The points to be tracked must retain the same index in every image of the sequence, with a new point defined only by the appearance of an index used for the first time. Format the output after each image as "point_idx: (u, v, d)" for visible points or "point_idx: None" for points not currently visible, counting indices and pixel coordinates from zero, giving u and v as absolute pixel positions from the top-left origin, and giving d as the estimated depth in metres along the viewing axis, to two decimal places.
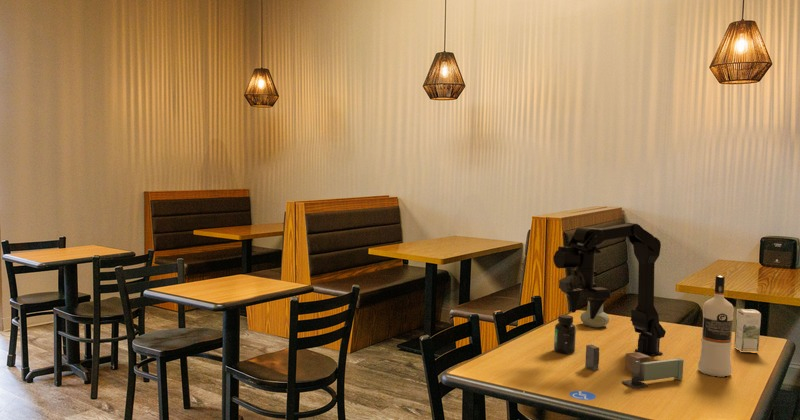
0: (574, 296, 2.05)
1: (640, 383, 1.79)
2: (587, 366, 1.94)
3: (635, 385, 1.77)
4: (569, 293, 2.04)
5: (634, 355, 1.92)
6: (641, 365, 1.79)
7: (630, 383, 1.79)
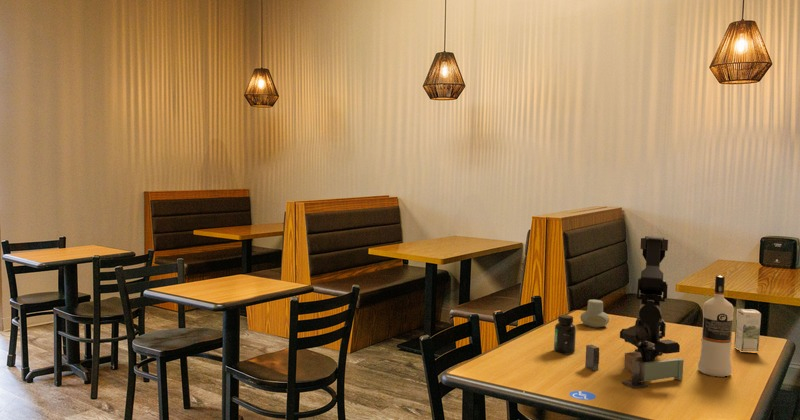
0: None
1: (640, 383, 1.79)
2: (587, 366, 1.94)
3: (635, 385, 1.77)
4: (642, 347, 1.88)
5: (633, 354, 1.92)
6: (641, 365, 1.79)
7: (630, 383, 1.79)
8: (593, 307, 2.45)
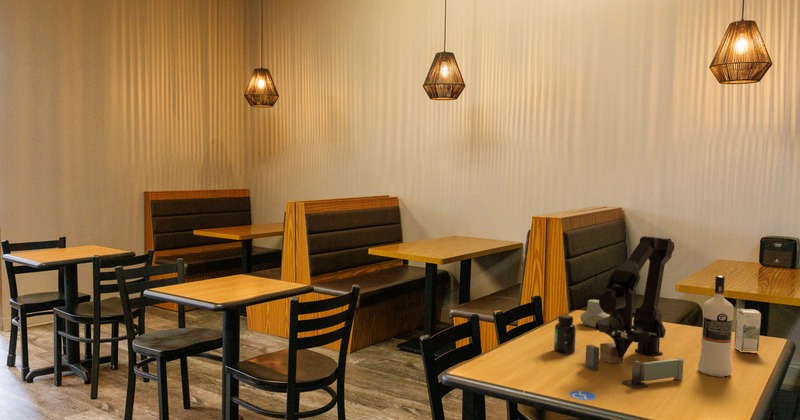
0: None
1: (640, 383, 1.79)
2: (587, 366, 1.94)
3: (635, 385, 1.77)
4: (616, 337, 1.98)
5: (608, 345, 2.02)
6: (641, 365, 1.79)
7: (630, 383, 1.79)
8: (593, 307, 2.45)
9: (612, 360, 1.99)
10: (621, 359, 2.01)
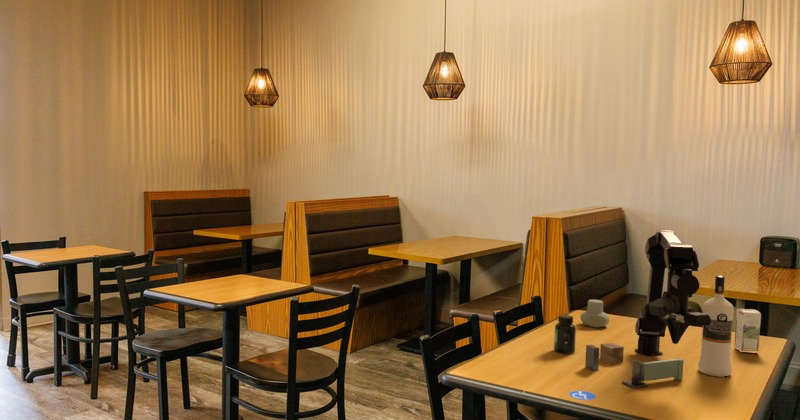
0: None
1: (640, 383, 1.79)
2: (587, 366, 1.94)
3: (635, 385, 1.77)
4: (670, 321, 1.78)
5: (608, 345, 2.02)
6: (641, 365, 1.79)
7: (630, 383, 1.79)
8: (593, 307, 2.45)
9: (612, 361, 1.99)
10: (621, 360, 2.01)
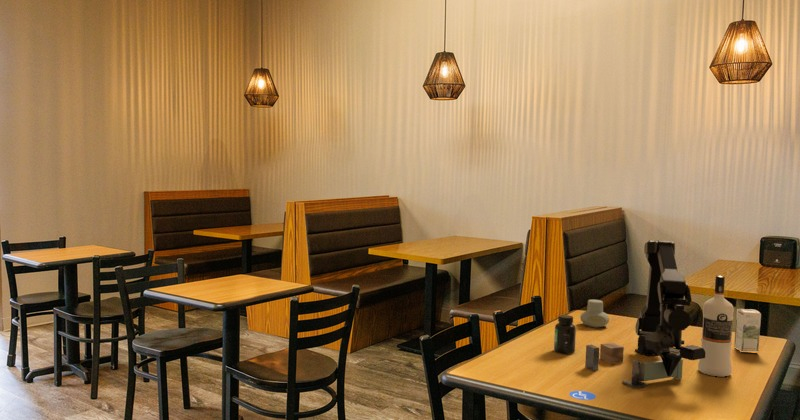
0: None
1: (640, 383, 1.79)
2: (587, 366, 1.94)
3: (635, 385, 1.77)
4: (664, 354, 1.80)
5: (608, 345, 2.02)
6: (641, 365, 1.79)
7: (630, 383, 1.79)
8: (593, 307, 2.45)
9: (612, 361, 1.99)
10: (621, 360, 2.01)
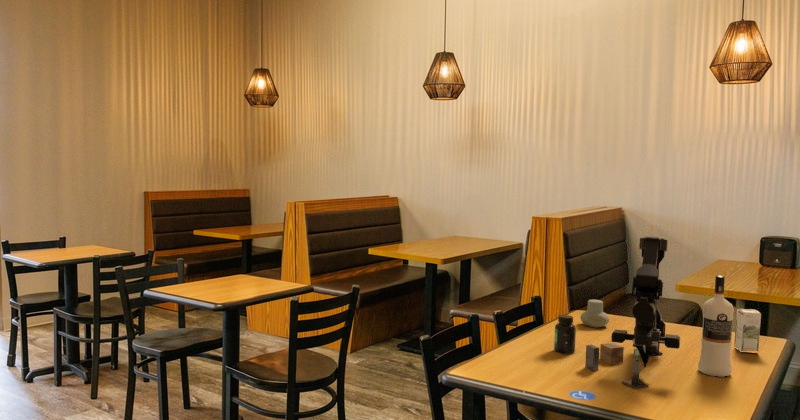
0: (644, 349, 1.87)
1: (640, 383, 1.79)
2: (587, 366, 1.94)
3: (635, 385, 1.77)
4: (643, 347, 1.86)
5: (608, 345, 2.02)
6: None
7: (630, 383, 1.79)
8: (593, 307, 2.45)
9: (612, 361, 1.99)
10: (621, 360, 2.01)
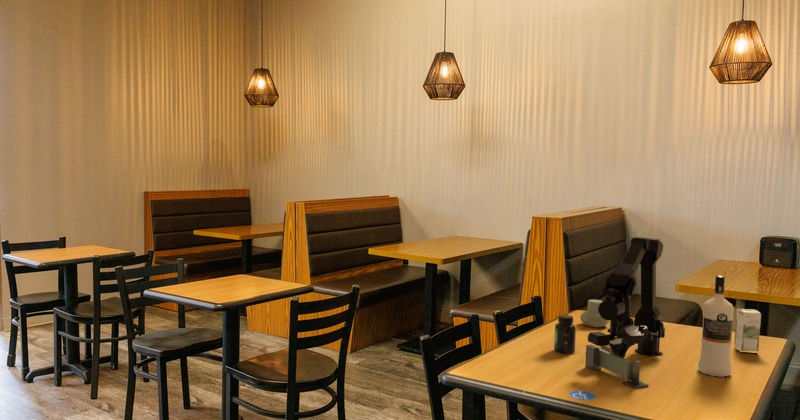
0: None
1: (640, 383, 1.79)
2: (587, 366, 1.94)
3: (635, 385, 1.77)
4: None
5: (608, 345, 2.02)
6: (632, 363, 1.81)
7: (630, 383, 1.79)
8: (593, 307, 2.45)
9: None
10: None
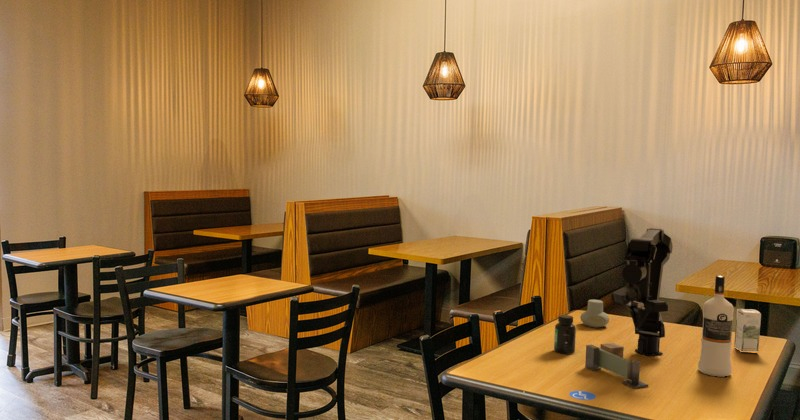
0: None
1: (640, 383, 1.79)
2: (587, 366, 1.94)
3: (635, 385, 1.77)
4: (632, 308, 1.96)
5: (608, 345, 2.02)
6: (632, 363, 1.81)
7: (630, 383, 1.79)
8: (593, 307, 2.45)
9: None
10: None
